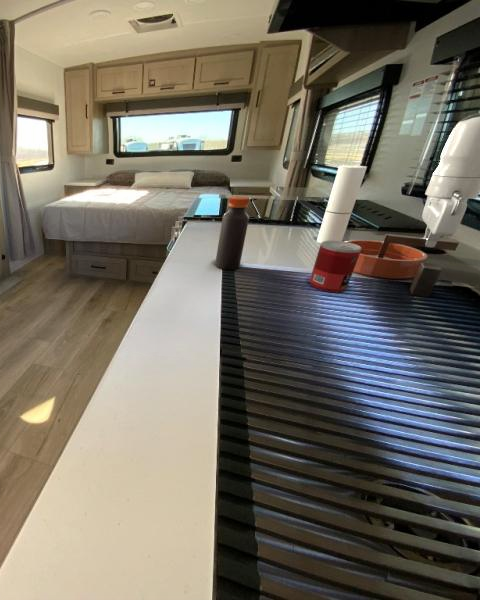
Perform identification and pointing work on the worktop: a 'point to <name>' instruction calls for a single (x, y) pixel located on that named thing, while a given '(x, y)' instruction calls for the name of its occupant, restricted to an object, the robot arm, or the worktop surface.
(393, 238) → the brown bent bar
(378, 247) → the bowl
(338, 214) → the cylindrical container
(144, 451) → the worktop surface
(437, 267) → the dark brown upright post
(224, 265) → the bottle
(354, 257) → the canned food
